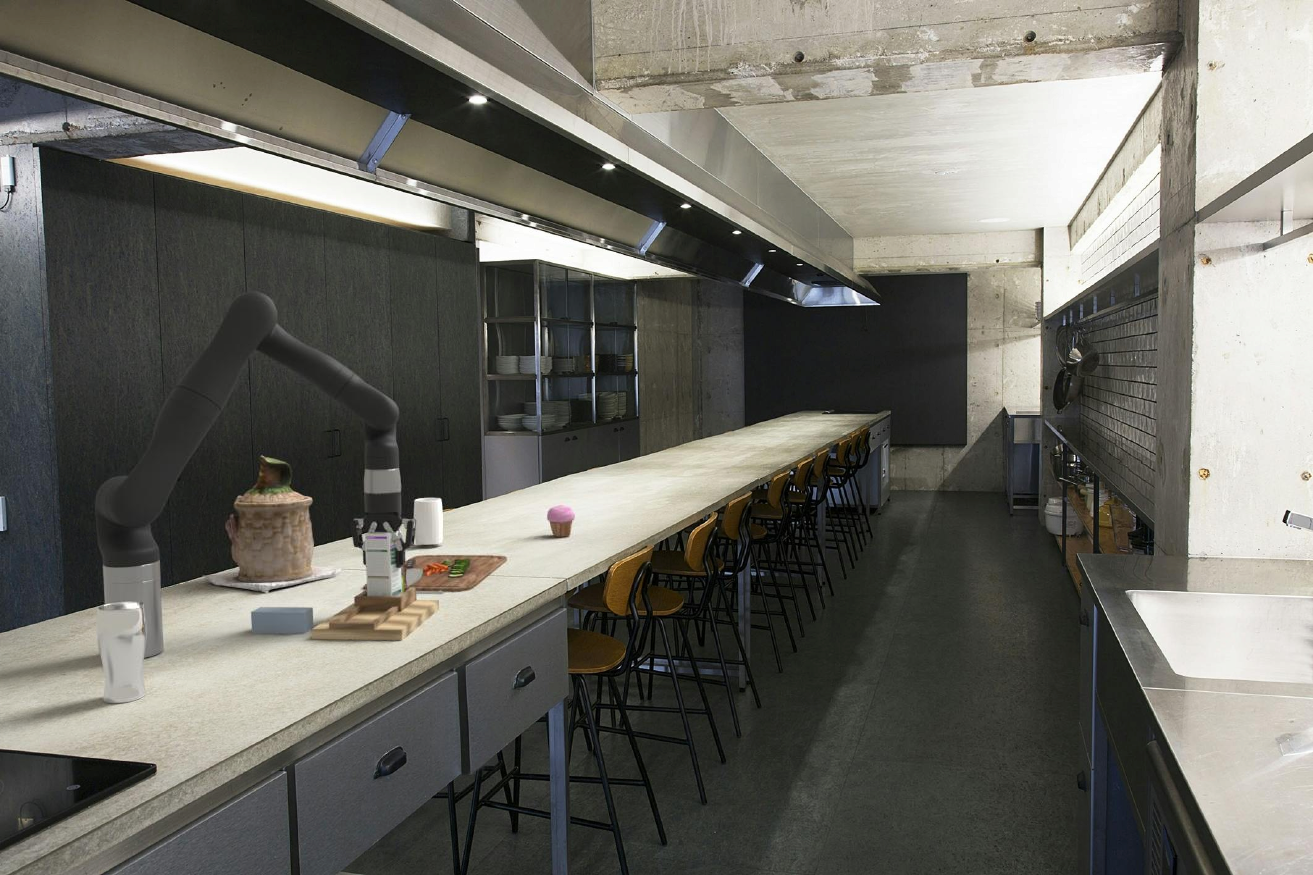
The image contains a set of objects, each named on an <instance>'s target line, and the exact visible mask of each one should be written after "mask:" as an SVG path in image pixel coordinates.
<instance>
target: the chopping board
mask: <svg viewBox="0 0 1313 875" xmlns="http://www.w3.org/2000/svg"><path fill="white" fill-rule="evenodd" d="M405 561H406V562H405V564H404V565H403V587H416V595H420V594H422V595H444V594H445V592H446V593H447V592H451V593H453V592H455V593H456V592H459V593H460V592H468V591H471V590H473V589H475V587H477V586H478V585H479V584H481V583H482V582H483V581H484V580H485V579H487V578H488V577H489V576H491V574H492V573H494V572H495V571H496V570H498V569H499V568H500V567H501V566H502V565H503V564H505V563H506V562H507V561H508V557H507V556H505V555H493V554H421V555H416V556H413V557H410V558H409V559H407V560H405ZM363 589H364V591H365V590H367V583H365V584H364V585H363Z"/></svg>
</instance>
